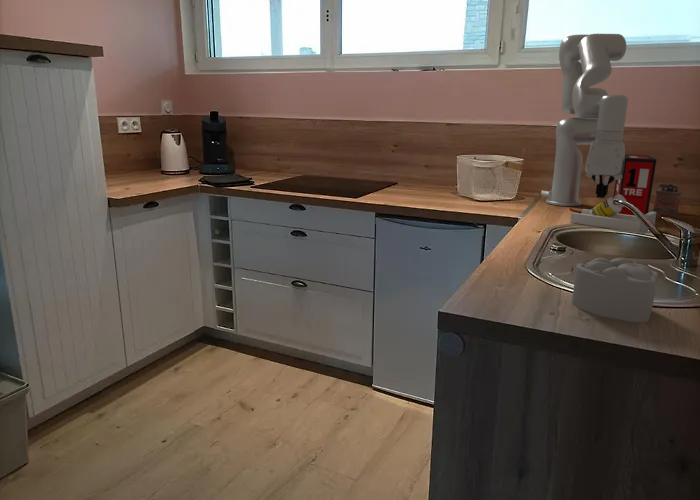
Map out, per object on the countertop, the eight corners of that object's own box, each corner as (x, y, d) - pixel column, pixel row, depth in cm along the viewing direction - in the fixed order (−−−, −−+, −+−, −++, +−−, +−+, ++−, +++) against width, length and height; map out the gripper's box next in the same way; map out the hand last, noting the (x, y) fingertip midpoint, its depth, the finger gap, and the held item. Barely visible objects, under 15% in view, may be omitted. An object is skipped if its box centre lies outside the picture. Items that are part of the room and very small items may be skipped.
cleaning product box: (611, 211, 192) (619, 154, 187) (639, 213, 190) (648, 155, 184) (616, 219, 177) (625, 158, 172) (646, 222, 175) (656, 159, 169)
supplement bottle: (587, 209, 171) (613, 191, 164) (595, 209, 174) (621, 191, 167) (595, 224, 169) (623, 206, 162) (604, 223, 172) (631, 206, 165)
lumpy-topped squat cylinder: (647, 325, 91) (655, 276, 88) (566, 309, 97) (571, 262, 95) (653, 307, 99) (661, 262, 97) (577, 293, 106) (583, 250, 104)
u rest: (570, 222, 172) (572, 206, 170) (582, 217, 179) (584, 202, 178) (644, 233, 158) (647, 216, 157) (653, 228, 165) (656, 212, 164)
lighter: (678, 212, 192) (683, 184, 189) (677, 213, 189) (683, 185, 187) (652, 209, 196) (657, 182, 194) (651, 211, 193) (656, 183, 191)
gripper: (579, 136, 167) (572, 195, 171) (631, 138, 157) (622, 201, 161) (588, 135, 172) (581, 193, 177) (639, 138, 162) (630, 198, 167)
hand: (600, 197), depth 169 cm, fingers closed
